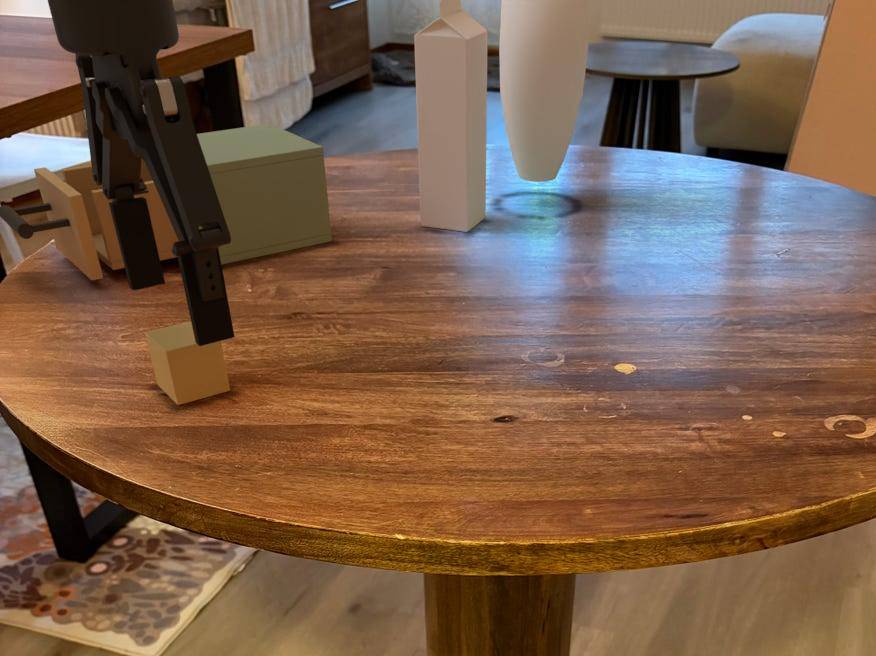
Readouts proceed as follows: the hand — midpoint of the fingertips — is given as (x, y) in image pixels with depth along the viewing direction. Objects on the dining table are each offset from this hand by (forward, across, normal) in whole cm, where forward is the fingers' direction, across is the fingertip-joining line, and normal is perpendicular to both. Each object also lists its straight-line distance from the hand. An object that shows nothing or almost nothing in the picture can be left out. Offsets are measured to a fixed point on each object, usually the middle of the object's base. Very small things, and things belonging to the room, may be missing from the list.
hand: (179, 311), depth 71 cm
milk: (+7, +24, -42) cm, 49 cm away
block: (+6, 0, 0) cm, 6 cm away
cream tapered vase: (+7, +24, -55) cm, 61 cm away
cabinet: (+6, +32, -19) cm, 38 cm away
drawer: (+5, +32, -5) cm, 33 cm away
